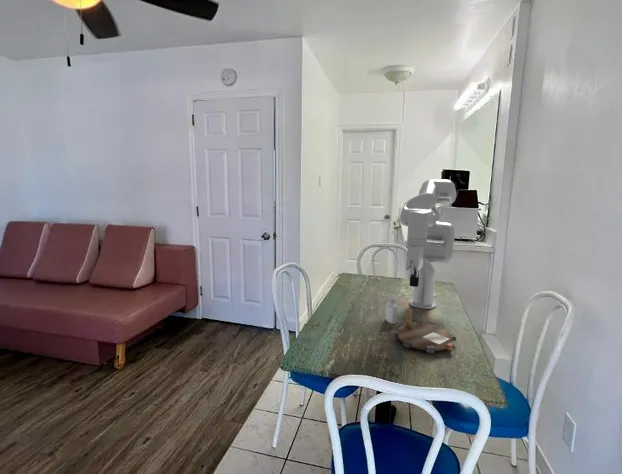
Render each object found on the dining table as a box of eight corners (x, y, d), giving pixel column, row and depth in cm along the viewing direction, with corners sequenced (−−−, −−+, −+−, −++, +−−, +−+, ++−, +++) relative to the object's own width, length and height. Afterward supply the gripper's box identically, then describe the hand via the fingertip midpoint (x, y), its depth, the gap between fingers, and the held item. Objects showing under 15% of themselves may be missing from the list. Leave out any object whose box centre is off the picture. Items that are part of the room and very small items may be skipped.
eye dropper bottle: (386, 323, 151) (387, 297, 149) (385, 318, 157) (386, 293, 155) (396, 324, 151) (398, 298, 149) (395, 319, 156) (397, 293, 154)
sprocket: (381, 335, 137) (382, 314, 135) (416, 320, 151) (418, 301, 149) (433, 359, 119) (435, 335, 118) (467, 340, 133) (470, 318, 131)
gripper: (411, 238, 149) (409, 280, 152) (402, 243, 136) (399, 289, 139) (430, 240, 145) (427, 282, 148) (422, 245, 132) (419, 292, 135)
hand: (413, 285), depth 144 cm, fingers closed
